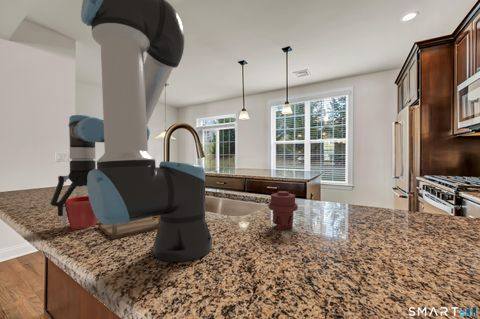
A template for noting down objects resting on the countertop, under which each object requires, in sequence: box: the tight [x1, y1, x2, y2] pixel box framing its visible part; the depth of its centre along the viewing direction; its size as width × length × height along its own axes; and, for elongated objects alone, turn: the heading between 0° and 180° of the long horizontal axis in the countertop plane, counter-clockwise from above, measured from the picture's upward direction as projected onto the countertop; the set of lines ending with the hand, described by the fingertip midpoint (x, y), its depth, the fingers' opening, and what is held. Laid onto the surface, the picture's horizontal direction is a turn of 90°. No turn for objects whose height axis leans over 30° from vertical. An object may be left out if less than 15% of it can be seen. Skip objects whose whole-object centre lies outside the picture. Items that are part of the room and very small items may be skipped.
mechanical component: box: [268, 190, 299, 231], centre depth 78 cm, size 12×10×10 cm
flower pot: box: [64, 195, 98, 230], centre depth 79 cm, size 11×11×10 cm
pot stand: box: [97, 216, 160, 240], centre depth 78 cm, size 16×16×6 cm
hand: (83, 221), depth 80 cm, fingers closed on flower pot, 10 cm apart
